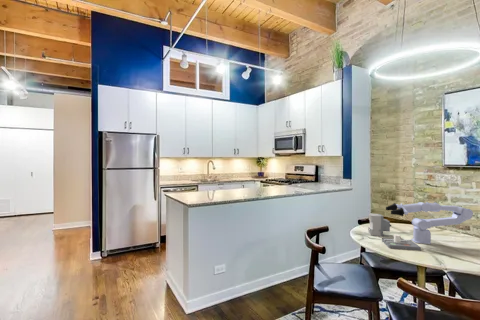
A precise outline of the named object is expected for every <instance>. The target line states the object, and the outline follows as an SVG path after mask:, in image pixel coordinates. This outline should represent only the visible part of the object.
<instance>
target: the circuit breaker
mask: <svg viewBox="0 0 480 320" xmlns="http://www.w3.org/2000/svg"><path fill="white" fill-rule="evenodd" d="M368 220H369V226H368V231H367V232H368V234H369V235H370V236H374V237H384V232H388V233H389V232H391V227H392V224H391V221H390V220H388V219H386V218H384V215H383V214H380V213H368Z"/></svg>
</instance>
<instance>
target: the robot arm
mask: <svg viewBox="0 0 480 320" xmlns="http://www.w3.org/2000/svg"><path fill="white" fill-rule="evenodd" d="M385 211H390V214H391V215H395V216H401V217H404V215H405V216H407V215H408V214H409V213H417V212H424V213H428V212H433V213H437V212H441V211H448V212H452V215H451V216H449V217H438V218H426V219H425V218H418V217H414V218H412V220H411V225H412V226H413V234H412V235H413V238H411V239H410V240H411V241H412V242H414V243H415V244H424V245H426V244H427V245H428V244H429V245H431V244H432V242H431V241H432V239H431V238H432V237H431V236H432V234H431V230H429V229H431V228H433V227H443V226H451V225H452V226H454V225H460V224H462V223H464V222H466V221H468V220H471V219H472V218H473V215H474V212H473V210H472V209H470V208H467V207H466V208H465V207H463V206H458V205H441V204H440V203H438V202H436V201H435V202H428V201H426V202H421V201H418V202H417V203H409V204H403V203H402V202H401V203H400V204H398V203H395V202H393V203H392V204H391V205H388V206H386V207H385Z"/></svg>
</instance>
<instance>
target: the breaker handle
mask: <svg viewBox="0 0 480 320" xmlns="http://www.w3.org/2000/svg"><path fill="white" fill-rule="evenodd" d="M401 237H402V236H401V235H400V234H395V233H394V234H393V239H394V242H401V240H402V239H401Z"/></svg>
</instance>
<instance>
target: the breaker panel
mask: <svg viewBox="0 0 480 320" xmlns="http://www.w3.org/2000/svg"><path fill="white" fill-rule="evenodd" d="M381 242H382V243H383V242H384V243H383V244H384V245H386V247H388V249H397V250H408V251H409V250H410V251H411V250H412V251H421V250H422V249H421V246H419V245H418V243H415V242H414V241H412V240H411V239H401V242H394V238H386V237H385V238H382V239H381Z"/></svg>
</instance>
